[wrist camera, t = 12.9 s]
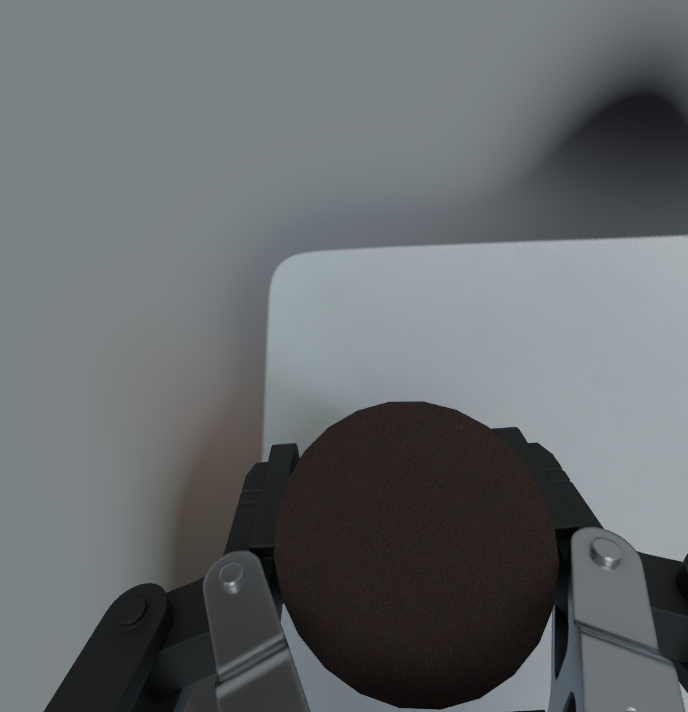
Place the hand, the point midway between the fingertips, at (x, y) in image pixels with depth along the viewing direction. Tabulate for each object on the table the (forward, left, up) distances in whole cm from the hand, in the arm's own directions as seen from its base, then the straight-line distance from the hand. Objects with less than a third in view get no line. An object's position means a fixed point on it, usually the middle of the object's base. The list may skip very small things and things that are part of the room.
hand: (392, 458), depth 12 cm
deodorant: (-1, -2, -11) cm, 12 cm away
